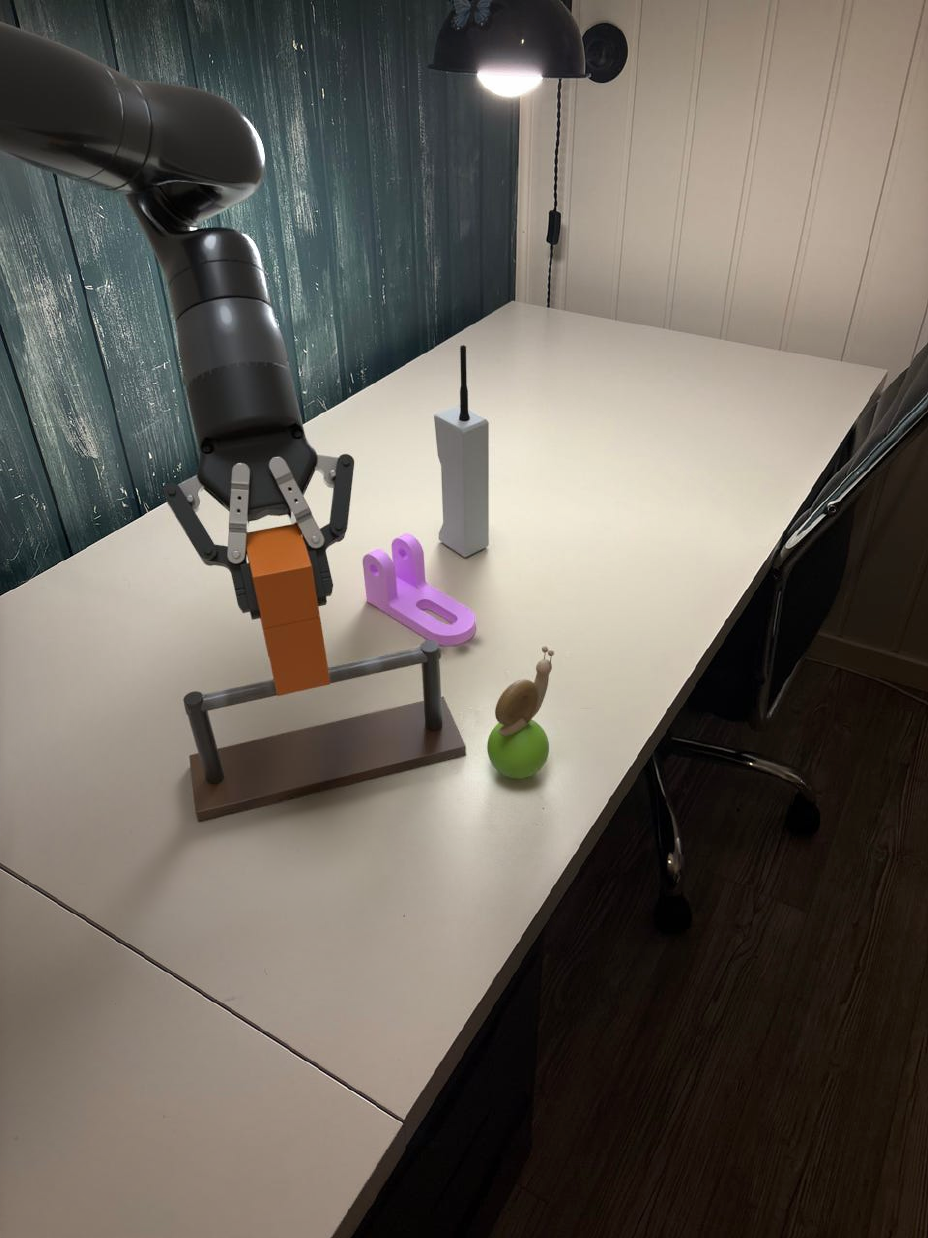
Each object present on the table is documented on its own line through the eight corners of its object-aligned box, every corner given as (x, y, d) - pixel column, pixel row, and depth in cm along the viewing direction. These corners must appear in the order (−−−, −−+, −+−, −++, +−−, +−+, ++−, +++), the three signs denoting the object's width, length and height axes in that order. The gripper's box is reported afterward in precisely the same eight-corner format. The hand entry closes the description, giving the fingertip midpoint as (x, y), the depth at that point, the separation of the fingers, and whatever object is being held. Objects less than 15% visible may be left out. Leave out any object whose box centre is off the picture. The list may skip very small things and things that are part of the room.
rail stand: (198, 822, 78) (170, 732, 71) (191, 764, 83) (165, 675, 77) (466, 755, 84) (464, 666, 77) (444, 704, 89) (440, 617, 82)
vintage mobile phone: (462, 530, 113) (457, 332, 97) (488, 547, 110) (488, 345, 94) (438, 541, 111) (430, 341, 96) (465, 559, 108) (461, 355, 92)
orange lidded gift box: (277, 696, 68) (252, 577, 61) (266, 649, 72) (242, 532, 65) (330, 684, 69) (312, 565, 62) (317, 638, 73) (298, 522, 66)
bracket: (366, 601, 102) (361, 549, 98) (403, 579, 105) (399, 528, 101) (449, 653, 95) (447, 599, 90) (486, 628, 98) (485, 575, 94)
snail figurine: (567, 762, 83) (575, 662, 75) (519, 801, 79) (521, 700, 72) (523, 731, 86) (526, 632, 78) (474, 768, 82) (473, 668, 75)
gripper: (128, 374, 61) (180, 625, 59) (339, 343, 64) (394, 582, 62) (144, 413, 68) (191, 638, 67) (333, 384, 71) (382, 598, 70)
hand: (289, 609), depth 64 cm, fingers closed on orange lidded gift box, 4 cm apart
